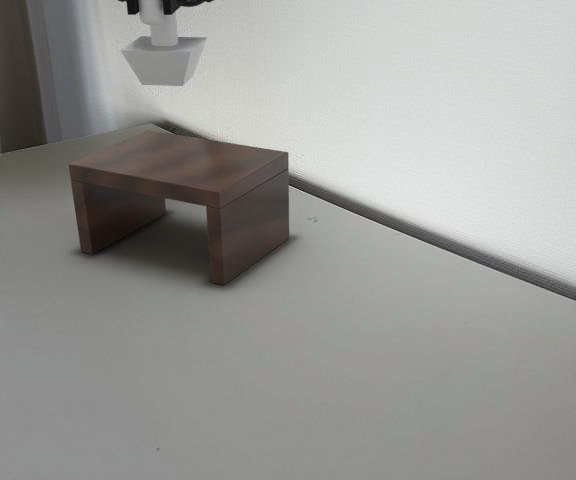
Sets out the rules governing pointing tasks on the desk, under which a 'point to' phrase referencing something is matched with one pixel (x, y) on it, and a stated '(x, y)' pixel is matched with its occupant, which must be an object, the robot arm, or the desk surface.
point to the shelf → (185, 194)
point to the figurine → (162, 49)
